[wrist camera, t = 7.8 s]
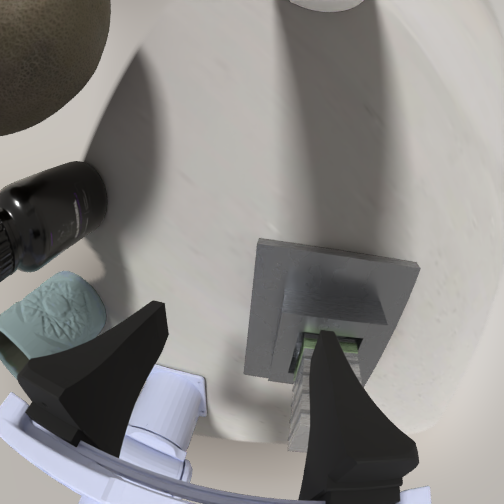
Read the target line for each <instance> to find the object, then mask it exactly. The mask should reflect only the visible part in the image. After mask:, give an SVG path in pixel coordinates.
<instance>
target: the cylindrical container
mask: <svg viewBox="0 0 504 504" xmlns="http://www.w3.org/2000/svg"><path fill="white" fill-rule="evenodd" d="M289 1H290V2H292V3H294V4H296V5H298V6H300V7H303V8H306V9H309V10H314V11H320V12H339V11H344V10H348V9H351V8H353V7H355V6H357V5H359V4H360V3H361V2H363V1H364V0H289Z"/></svg>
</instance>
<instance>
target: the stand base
mask: <svg viewBox="0 0 504 504" xmlns="http://www.w3.org/2000/svg"><path fill="white" fill-rule="evenodd" d="M420 269H421V268H420V267H419V265H418V264H417V262H411V261H405V260H399V259H393V258H386V257H380V256H374V255H368V254H361V253H355V252H349V251H342V250H336V249H329V248H323V247H316V246H310V245H303V244H296V243H289V242H283V241H276V240H269V239H262V238H259V240H258V243H257V251H256V261H255V271H254V280H253V290H252V299H251V309H250V319H249V328H248V337H247V347H246V356H245V366H244V374H245V375H251V376H257V377H263V378H269V379H268V381H274V382H281V383H288V384H294V381H293V379H294V370H295V366H296V362H297V359H298V355H299V352H300V349H301V345H302V341H303V338H304V334H313V335H319V333H320V330H326V331H334V332H335V334H336V336H337V337H339V338H348V339H355V343H357V350H358V354H357V355H358V361H359V363H360V365H359V369H360V377H362V381H361V384H362V386H363V387H364V386H365V384H366V382H367V381H368V379H369V377H370V375H371V374H372V372H373V370H374V368H375V367H376V365H377V363H378V361H379V359H380V357H381V355H382V354H383V352H384V350H385V348H386V346H387V344H388V342H389V340H390V338H391V336H392V334H393V332H394V330H395V328H396V326H397V323H398V321H399V319H400V317H401V315H402V313H403V310H404V308H405V306H406V304H407V301H408V299H409V296H410V294H411V292H412V289H413V287H414V284H415V282H416V279H417V277H418V274H419V271H420Z"/></svg>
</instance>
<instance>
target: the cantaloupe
mask: <svg viewBox="0 0 504 504" xmlns="http://www.w3.org/2000/svg"><path fill="white" fill-rule="evenodd" d="M110 7H111V4H110V0H0V136H4V135H8V134H13V133H15V132H19V131H22V130H25V129H27V128H29V127H32V126H34V125H36V124H38V123H40V122H42V121H43V120H45V119H46V118H48V117H50V116H51V115H53V114H54V113H55V112H57V111H58V110H60V109H61V108H62V107H63V106H64V105H65V104H67V103H68V102H69V101H70V100H71V99H72V98H74V96H76V95H77V94H78V93H79V92H80V91H81V90H82V89H83V87H84V86H85V85H86V84H87V82H88V81H89V79H90V78H91V77H92V75H93V74H94V72H95V70H96V68H97V66H98V64H99V61H100V59H101V56H102V53H103V50H104V47H105V44H106V41H107V37H108V32H109V26H110V14H111V9H110Z"/></svg>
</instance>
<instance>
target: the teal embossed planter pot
mask: <svg viewBox="0 0 504 504" xmlns="http://www.w3.org/2000/svg"><path fill="white" fill-rule="evenodd" d="M105 321H106V312H105V308H104V305H103V303H102V301H101V299H100V297H99V296H98V294H97V293H96V291H95V290H94V289H93V288H92V287H91V286H90V284H89V283H88V282H86V281H85V280H84V279H83V278H81V277H80V276H78V275H77V274H75V273H72V272H69V271H62V272H59V273H57V274H55V275H54V276H52V277H51V278H50V279H48V280H47V281H45V282H44V283H42V284H41V285H40V287H38V288H37V289H35V290H34V291H33V292H31V293H30V294H28V295H27V296H26V297H25V298H24V299H23V300H22V301H20V302H16V303H15V304H14V305H13V306H11V307H10V308H9V309H8V310H6V311H4V312H3V313H2V314H0V360H1V361H2V363H3V364H4V365H5V366H6V368H7V369H8V370H9V371H10V373H11V374H12V375H13V376H14V377H15V378H16V379H17V375H18V373H19V372H20V371H21V370H22V368H23V367H24V366H25V365H26V363H27V362H28V361H29V360H30V359H31V358H37V357H42V356H47V355H51V354H55V353H58V352H62V351H65V350H68V349H71V348H73V347H76V346H78V345H81V344H83V343H86V342H88V341H90V340H92V339H94V338H96V336H97V335H98V334H99V333H100V331H101V330H102V328H103V327H104V324H105Z"/></svg>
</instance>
